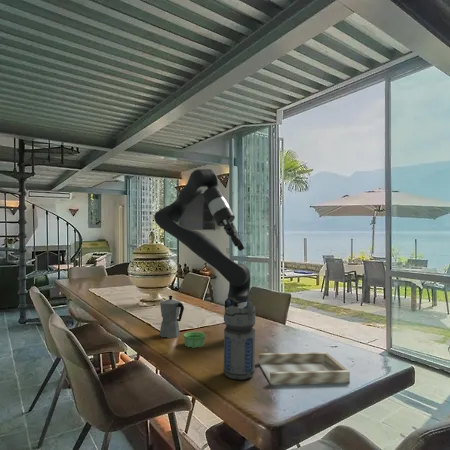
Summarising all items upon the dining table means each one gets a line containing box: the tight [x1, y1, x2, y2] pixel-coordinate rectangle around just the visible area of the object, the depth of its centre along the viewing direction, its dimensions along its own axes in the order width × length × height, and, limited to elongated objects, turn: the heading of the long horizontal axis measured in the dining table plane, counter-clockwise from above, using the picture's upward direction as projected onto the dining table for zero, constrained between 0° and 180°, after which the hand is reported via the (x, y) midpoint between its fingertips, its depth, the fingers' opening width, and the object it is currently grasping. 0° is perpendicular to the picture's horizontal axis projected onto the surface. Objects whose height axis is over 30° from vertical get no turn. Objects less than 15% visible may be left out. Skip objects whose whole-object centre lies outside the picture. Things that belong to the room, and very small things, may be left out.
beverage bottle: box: [223, 297, 256, 381], centre depth 115 cm, size 10×13×25 cm
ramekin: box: [183, 331, 206, 349], centre depth 144 cm, size 9×9×4 cm
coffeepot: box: [159, 295, 185, 339], centre depth 157 cm, size 15×9×18 cm, turn 49°
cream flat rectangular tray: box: [258, 351, 351, 386], centre depth 116 cm, size 25×18×4 cm
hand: (240, 247), depth 129 cm, fingers open, 8 cm apart
